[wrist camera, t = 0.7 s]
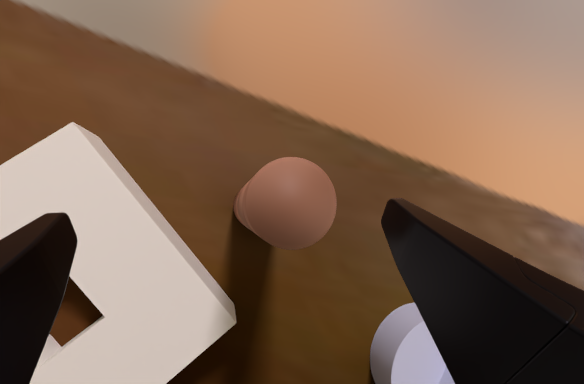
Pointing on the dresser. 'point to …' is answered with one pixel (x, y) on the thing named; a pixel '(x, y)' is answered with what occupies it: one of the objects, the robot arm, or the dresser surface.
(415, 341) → the wedge on round base
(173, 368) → the hole block
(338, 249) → the dresser surface
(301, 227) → the peg
